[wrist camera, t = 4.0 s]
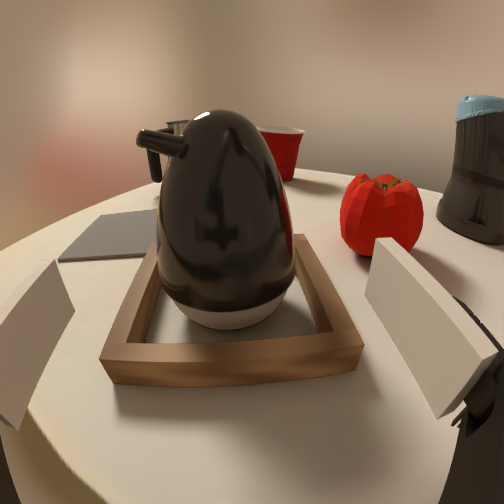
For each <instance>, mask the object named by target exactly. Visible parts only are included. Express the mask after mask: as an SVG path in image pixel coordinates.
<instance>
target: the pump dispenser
mask: <svg viewBox="0 0 504 504" xmlns="http://www.w3.org/2000/svg"><path fill="white" fill-rule="evenodd" d="M136 144H137V146H138V147H141V148H146V149H148V150H150V151H153V152H157V153H160V154H163V155H166V156H169V159H168V163H167V166H166V169H165V173H164V176H163V180H162V185H161V190H160V196H159V202H158V210H157V223H156V247H157V262H158V270H159V276H160V280H161V284H162V287H163V289H164V290H165V292H166V293H167V294H168V295H169V296H170V297H171V298H172V300H173V301H174V303H175V304H176V306H177V307H178V308H179V309H180V310H181V311H182V312H183V313H184V314H185V315H186V316H187V317H189V318H190V319H191V320H193V321H195V322H197V323H199V324H201V325H203V326H206V327H209V328H214V329H221V330H232V329H240V328H245V327H248V326H251V325H254V324H256V323H258V322H260V321H261V320H263V319H265V318H266V317H267V316H269V315H270V314H271V313H272V312H273V311H274V310H275V309H276V308H277V307H278V305H279V304H280V303H281V301H282V299H283V297H284V296H285V294H286V291H287V289H288V288H289V286H290V285H291V283H292V281H293V279H294V276H295V267H296V254H295V243H294V234H293V226H292V220H291V214H290V209H289V205H288V201H287V197H286V193H285V189H284V186H283V183H282V180H281V177H280V174H279V171H278V168H277V165H276V163H275V160H274V158H273V156H272V153H271V151H270V149H269V147H268V145H267V143H266V141H265V140H264V138H263V136H262V135H261V133H260V132H259V130H258V129H257V127H256V126H255V125H254V124H253V123H252V122H251V121H250V120H249V119H248V118H247V117H245V116H244V115H242V114H239V113H237V112H235V111H231V110H226V109H213V110H209V111H206V112H203V113H201V114H199V115H197V116H195V117H194V118H192V119H191V120H190V121H189V122H188V123H187V124H186V125H185V127H184V128H183V130H182V131H181V133H180V135H179V136H178V135H173V134H168V133H162V132H157V131H151V130H145V129H143V130H141V131H140V132H139V133H138V135H137V138H136Z"/></svg>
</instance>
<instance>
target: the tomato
mask: <svg viewBox="0 0 504 504" xmlns="http://www.w3.org/2000/svg"><path fill="white" fill-rule="evenodd" d="M423 216H424V213H423V206H422V201H421V198H420V195H419V192H418V190H417V187H415V186H414V185H413V184H411V183H410V182H408V181H407V180H406V181H404V182H401V181H400V180H399V179H398V178H396V177H394V176H391V175H390V174H386V175H380V176H378V177H375V178H372V179H370V178H369V177H368V176H367V175H366V174H358V175H357V176H356V177H355V178H354V179H353V180H352V182H351V183H350V184H349V185H348V187H347V190H346V192H345V194H344V197H343V199H342V204H341V208H340V225H341V235H342V238H343V239H344V241H345V242H346V244H347V245H348V246H349V247H350V248H351V249H352V250H354V251H355V252H357V253H359V254H361V255H364V256H367V255H368V256H373V251H374V246H375V240H376V238H389V237H392V238H393V239H394V240H395V241H396V242H397V243H398V244H399V245H400V246H401V247H403V248H404V249H405V250H406V251H407V252H408V253H409V252H410V250H411V249H412V247H413V246H414V245H415V243H416V242H417V240H418V238H419V236H420V233H421V230H422V226H423Z"/></svg>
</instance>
